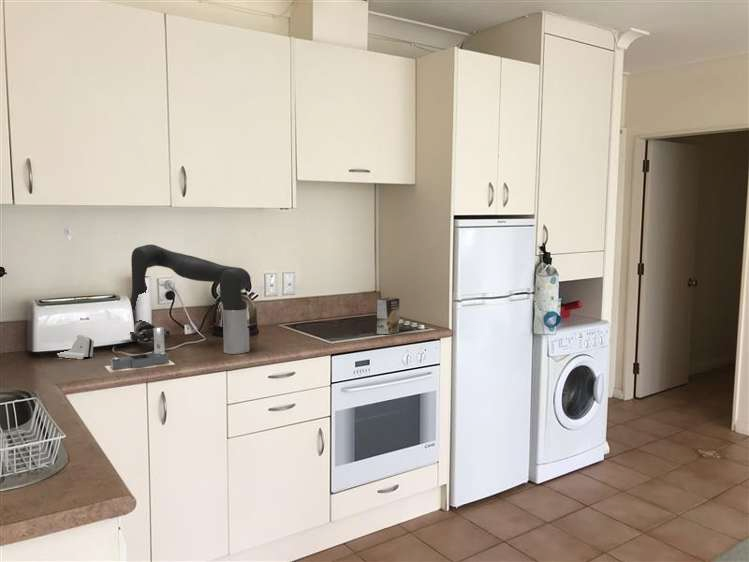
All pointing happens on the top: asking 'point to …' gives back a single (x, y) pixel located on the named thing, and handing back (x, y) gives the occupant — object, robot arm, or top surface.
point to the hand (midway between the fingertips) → (154, 337)
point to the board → (137, 368)
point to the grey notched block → (139, 361)
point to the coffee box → (387, 315)
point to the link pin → (158, 340)
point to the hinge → (79, 348)
